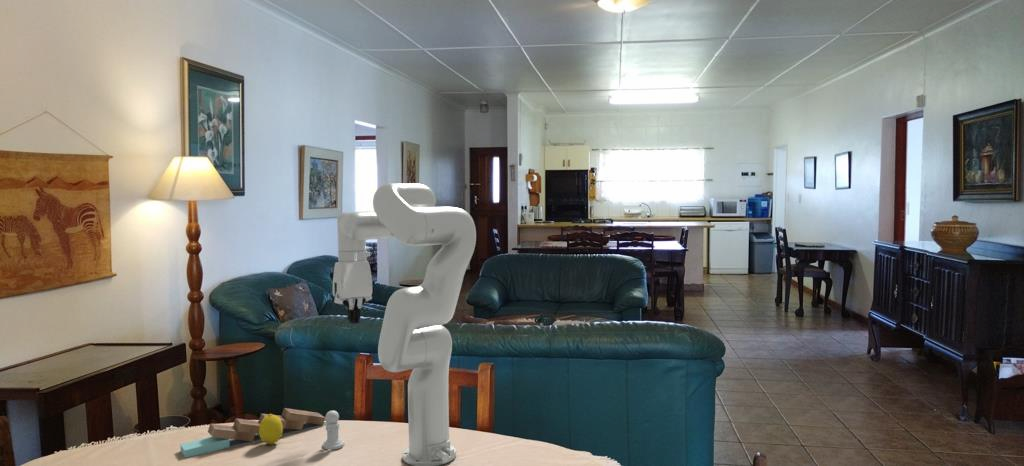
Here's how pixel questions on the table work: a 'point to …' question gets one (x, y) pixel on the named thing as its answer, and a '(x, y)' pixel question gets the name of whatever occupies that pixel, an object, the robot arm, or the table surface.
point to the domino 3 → (286, 422)
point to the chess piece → (332, 431)
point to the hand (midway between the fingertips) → (354, 322)
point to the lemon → (270, 429)
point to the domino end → (203, 446)
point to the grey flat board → (285, 431)
